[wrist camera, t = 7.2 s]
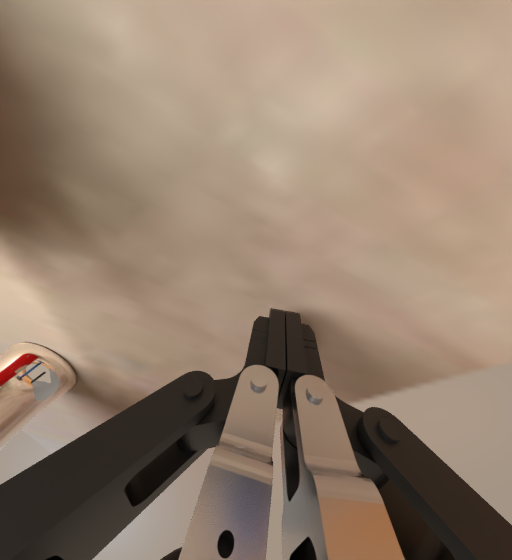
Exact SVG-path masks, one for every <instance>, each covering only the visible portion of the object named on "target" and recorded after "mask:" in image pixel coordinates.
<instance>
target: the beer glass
mask: <svg viewBox="0 0 512 560" xmlns="http://www.w3.org/2000/svg"><path fill="white" fill-rule="evenodd" d="M75 383H76V374H75V372H74V370H73V369H72V367H71V366H70V365H69V364H68V363H67V362H66V361H65V360H64V359H63V358H61V357H60V356H59V355H57V354H56V353H54V352H53V351H51V350H49V349H47V348H45V347H42V346H40V345H37V344H33V343H27V342H22V343H17V344H14V345H12V346H11V347H9V348H8V349H7V350H5V351H4V352H3V353H2V354H0V451H1V450H2V449H3V447H4V446H5V445H6V444H7V443H8V442H9V441H10V440H11V439H12V437H14V436H15V435H16V433H18V432H19V431H20V430H21V429H22V428H23V427H24V426H25V425H26V424H27V423H28V422H29V421H30V420H31V419H32V418H33V417H35V416H36V415H37V414H38V413H39V412H41V411H42V410H43V409H44V408H46V407H47V406H48V405H50V404H51V403H52V402H54V401H55V400H56V399H58V398H59V397H61V396H62V395H63V394H65V393H66V392H67V391H69V390H70V389H71V388H72V387H73V386H74V385H75Z"/></svg>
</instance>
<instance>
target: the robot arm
mask: <svg viewBox="0 0 512 560" xmlns="http://www.w3.org/2000/svg"><path fill="white" fill-rule="evenodd" d="M317 349H318V348H317V343H316V339H315V334H314V332H313V330H312V329H311V328H310V326H309V325H306V324H301V319H300V314H299V313H295V312H289V311H283V310H278V309H272V308H271V309H270V314H269V318H267V317H262V316H259V317H258V318H257V319H256V320H255V321H254V324H253V329H252V334H251V339H250V343H249V348H248V353H247V358H246V362H245V366H244V368H243V369H242V371H241V372H240V373H239V374H237V375H236V376H234V377H231V378H228V379H221V380H213V378H212V377H211V376H210V375H209V374H207V373H205V372H202V371H192V372H188V373H186V374H184V375H182V376H181V377H179V378H177V379H176V380H174V381H172V382H171V383H169V384H167V385H166V386H164V387H162V388H161V389H159V390H157V391H156V392H154V393H152V394H151V395H149V396H147V397H146V398H144V399H142V400H141V401H139V402H137V403H136V404H134V405H132V406H131V407H129V408H127V409H126V410H124V411H122V412H121V413H119V414H117V415H116V416H114V417H112V418H111V419H109V420H107V421H106V422H104V423H102V424H101V425H99V426H97V427H96V428H94V429H92V430H91V431H89V432H87V433H86V434H84V435H82V436H81V437H79V438H77V439H76V440H74V441H72V442H71V443H69V444H67V445H66V446H64V447H62V448H61V449H59V450H57V451H56V452H54V453H52V454H51V455H49V456H48V457H46V458H44V459H43V460H41V461H39V462H38V463H36V464H34V465H32V466H31V467H29V468H28V469H26V470H24V471H22V472H21V473H19V474H18V475H16V476H14V477H13V478H11V479H9V480H8V481H6V482H4V483H3V484H1V485H0V560H92V559H93V558H94V557H95V556H96V555H97V554H98V553H99V552H100V551H101V550H102V549H103V548H104V547H106V546H107V545H108V544H109V543H110V542H111V541H112V540H113V539H114V538H115V537H116V536H117V535H118V534H119V533H120V532H121V531H122V530H123V529H124V528H125V527H126V526H127V525H128V524H129V523H131V521H133V520H134V519H135V518H136V517H137V516H138V515H139V514H140V513H141V512H142V511H143V510H144V509H145V508H146V507H147V506H148V505H149V504H150V503H151V502H153V501H154V500H155V498H157V497H158V496H159V495H160V494H161V493H162V492H163V491H164V490H165V489H166V488H167V487H168V486H169V485H170V484H171V483H172V482H173V481H174V480H175V479H177V478H178V477H179V476H180V474H182V473H183V472H184V471H185V470H186V469H187V468H188V467H189V466H190V465H191V464H192V463H193V462H194V461H195V460H196V459H197V458H198V457H199V456H201V455H202V454H203V453H204V452H205V451H206V450H207V449H208V448H212V447H215V450H214V452H213V455H212V458H211V461H210V464H209V467H208V470H207V473H206V476H205V479H204V482H203V485H202V488H201V491H200V495H199V498H198V501H197V504H196V507H195V510H194V513H193V516H192V519H191V522H190V526H189V529H188V532H187V535H186V538H185V541H184V544H183V547H181V548H179V549H176V550H174V551H173V552H171V553H170V554H168V555H167V556H165V557H163V558H162V559H161V560H265V559H266V548H267V537H268V526H269V515H270V514H269V513H270V504H271V492H272V480H273V461H272V448H273V439H274V429H275V419H276V409H277V408H279V409H283V421H282V424H281V427H280V440H281V459H282V477H283V496H284V505H283V515H282V554H283V555H282V556H283V560H512V525H511V524H510V523H509V522H508V521H506V520H505V519H504V518H503V517H502V516H501V515H500V514H499V513H498V512H497V511H496V510H495V509H494V508H493V507H492V506H490V505H489V504H488V503H487V502H486V501H485V500H484V499H483V498H482V497H481V496H480V495H479V494H478V493H477V492H475V491H474V490H473V489H472V488H471V487H470V486H469V485H468V484H467V483H466V482H465V481H464V480H463V479H461V477H459V476H458V475H457V474H456V473H455V472H454V471H453V470H452V469H451V468H450V467H449V466H447V464H445V463H444V462H443V461H442V460H441V459H440V458H439V457H438V456H437V455H436V454H435V453H434V452H433V451H432V450H430V449H429V448H428V447H427V446H426V445H425V444H424V443H423V442H422V441H421V440H420V439H419V438H418V437H417V436H416V435H414V434H413V433H412V432H411V431H410V430H409V429H408V428H407V427H406V426H405V425H404V424H403V423H402V422H401V421H399V420H398V419H397V418H396V417H395V416H394V415H392V414H391V413H389V412H388V411H386V410H383V409H381V408H377V407H371V408H368V409H367V410H366V411H365V412H362V411H360V410H358V409H356V408H354V407H352V406H350V405H348V404H346V403H344V402H343V401H341V400H340V399H338V398H337V397H336V396H335V394H334V392H333V390H332V389H331V387H330V386H329V385H328V384H327V383H326V382H325V380H324V376H323V371H322V366H321V362H320V357H319V352H318V350H317Z"/></svg>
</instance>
